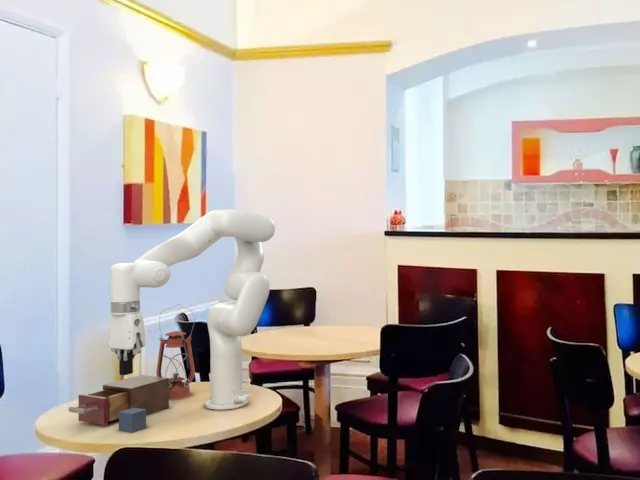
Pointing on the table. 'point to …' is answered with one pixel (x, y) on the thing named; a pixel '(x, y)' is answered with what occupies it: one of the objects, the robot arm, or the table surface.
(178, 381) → the lantern
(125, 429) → the block
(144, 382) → the cabinet
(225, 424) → the table surface
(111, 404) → the drawer
